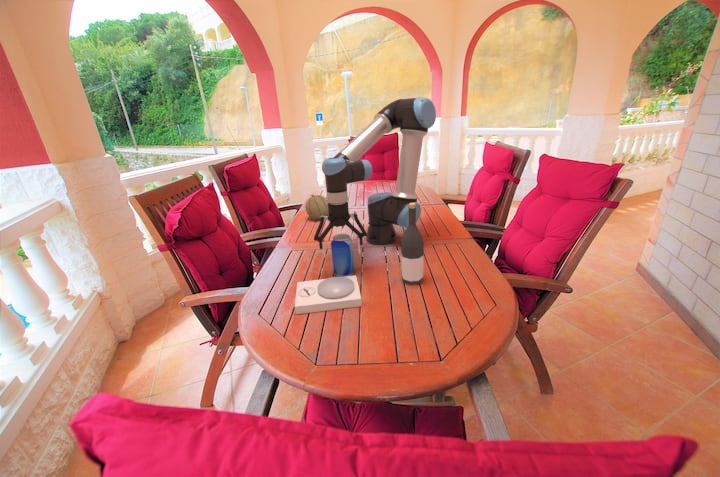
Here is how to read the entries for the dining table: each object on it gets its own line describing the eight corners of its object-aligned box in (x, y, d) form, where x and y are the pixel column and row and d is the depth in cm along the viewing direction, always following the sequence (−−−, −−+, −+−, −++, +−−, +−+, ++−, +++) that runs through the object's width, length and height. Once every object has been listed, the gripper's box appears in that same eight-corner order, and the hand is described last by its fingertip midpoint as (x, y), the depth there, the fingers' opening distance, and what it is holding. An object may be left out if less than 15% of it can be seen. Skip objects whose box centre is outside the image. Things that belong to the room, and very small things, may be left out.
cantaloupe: (329, 222, 187) (327, 197, 181) (305, 223, 187) (301, 198, 181) (332, 214, 200) (329, 191, 195) (309, 215, 201) (306, 192, 195)
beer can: (357, 269, 130) (355, 233, 124) (350, 279, 123) (347, 242, 116) (338, 267, 133) (335, 232, 126) (330, 277, 125) (326, 240, 119)
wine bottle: (409, 287, 115) (409, 208, 103) (397, 278, 121) (395, 203, 110) (427, 281, 118) (429, 204, 106) (414, 272, 125) (414, 198, 113)
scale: (356, 282, 121) (355, 272, 119) (361, 306, 106) (361, 295, 104) (298, 289, 119) (296, 279, 117) (295, 314, 104) (293, 303, 102)
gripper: (369, 196, 121) (371, 247, 129) (304, 202, 118) (310, 253, 126) (372, 201, 114) (374, 255, 122) (303, 207, 111) (309, 261, 119)
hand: (341, 254), depth 124 cm, fingers open, 13 cm apart
